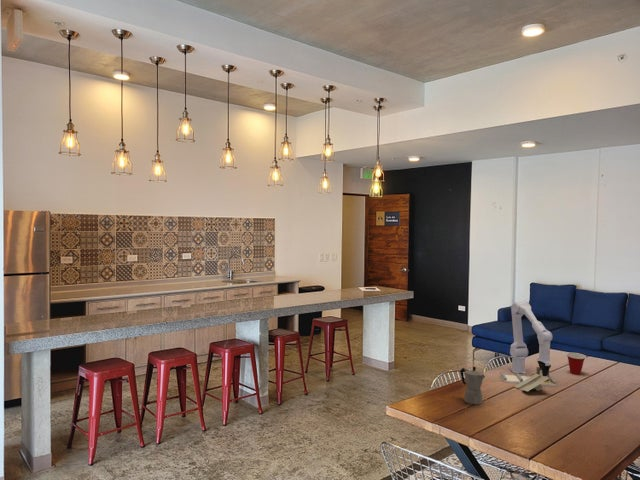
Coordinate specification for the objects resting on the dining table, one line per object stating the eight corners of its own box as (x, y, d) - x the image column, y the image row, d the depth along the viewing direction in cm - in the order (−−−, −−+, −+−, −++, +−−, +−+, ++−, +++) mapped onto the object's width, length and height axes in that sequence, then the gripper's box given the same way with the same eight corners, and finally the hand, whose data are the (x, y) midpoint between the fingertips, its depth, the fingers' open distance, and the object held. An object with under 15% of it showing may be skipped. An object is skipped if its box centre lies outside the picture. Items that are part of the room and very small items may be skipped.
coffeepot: (489, 403, 246) (490, 368, 245) (477, 407, 241) (478, 371, 240) (465, 394, 259) (466, 361, 258) (453, 397, 254) (454, 364, 253)
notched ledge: (500, 376, 294) (500, 372, 294) (550, 379, 288) (550, 375, 288) (504, 382, 282) (504, 377, 282) (556, 386, 277) (556, 381, 276)
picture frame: (536, 378, 286) (536, 367, 286) (547, 379, 285) (547, 367, 285) (537, 380, 282) (538, 368, 282) (548, 381, 281) (549, 369, 281)
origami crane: (538, 404, 258) (557, 385, 260) (527, 391, 259) (546, 372, 261) (523, 398, 275) (541, 380, 277) (513, 386, 275) (531, 368, 277)
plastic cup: (567, 375, 299) (568, 355, 298) (564, 370, 309) (564, 351, 309) (587, 377, 296) (587, 357, 295) (583, 372, 306) (583, 353, 306)
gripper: (534, 348, 291) (533, 370, 291) (540, 354, 277) (539, 377, 277) (546, 349, 290) (545, 371, 290) (553, 355, 275) (552, 378, 276)
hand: (543, 374), depth 283 cm, fingers open, 4 cm apart
